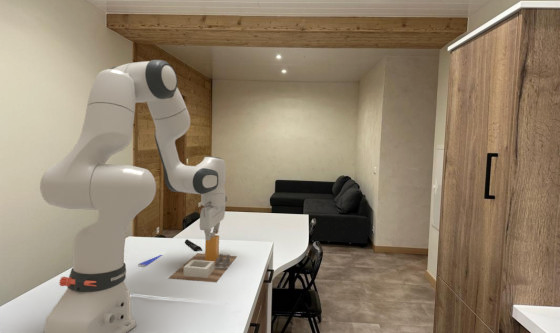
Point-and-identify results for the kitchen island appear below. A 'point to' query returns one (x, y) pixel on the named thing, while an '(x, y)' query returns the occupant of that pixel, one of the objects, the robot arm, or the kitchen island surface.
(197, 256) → the board
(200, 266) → the end holder
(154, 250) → the kitchen island surface
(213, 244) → the connector plug
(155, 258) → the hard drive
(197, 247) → the electric trimmer
